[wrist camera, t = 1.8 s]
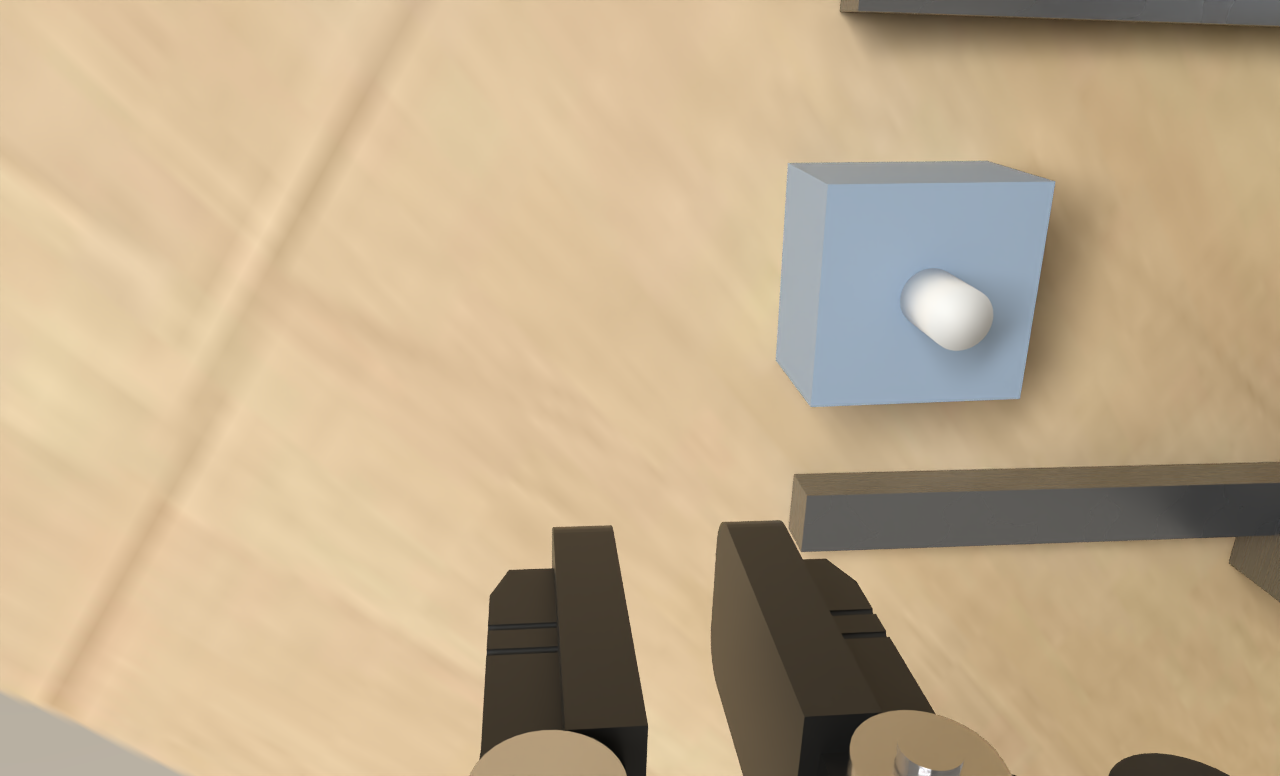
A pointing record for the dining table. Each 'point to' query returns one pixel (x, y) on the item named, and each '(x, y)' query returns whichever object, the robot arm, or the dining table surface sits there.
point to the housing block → (909, 280)
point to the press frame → (1054, 497)
